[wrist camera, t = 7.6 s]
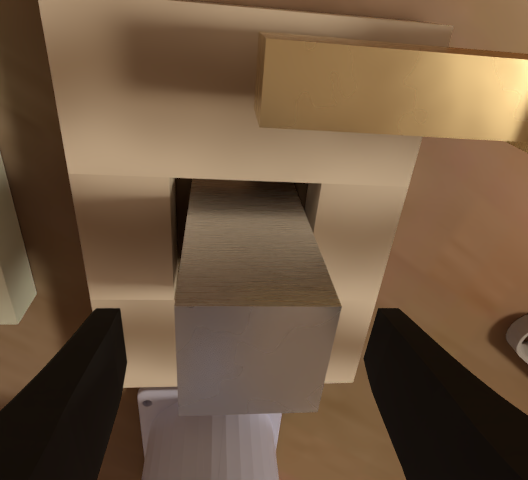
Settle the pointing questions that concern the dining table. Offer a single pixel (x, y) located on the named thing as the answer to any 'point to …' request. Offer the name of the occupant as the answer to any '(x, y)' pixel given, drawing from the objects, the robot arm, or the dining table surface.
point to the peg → (251, 302)
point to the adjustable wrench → (519, 337)
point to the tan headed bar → (390, 88)
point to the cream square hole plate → (12, 260)
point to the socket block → (210, 155)
